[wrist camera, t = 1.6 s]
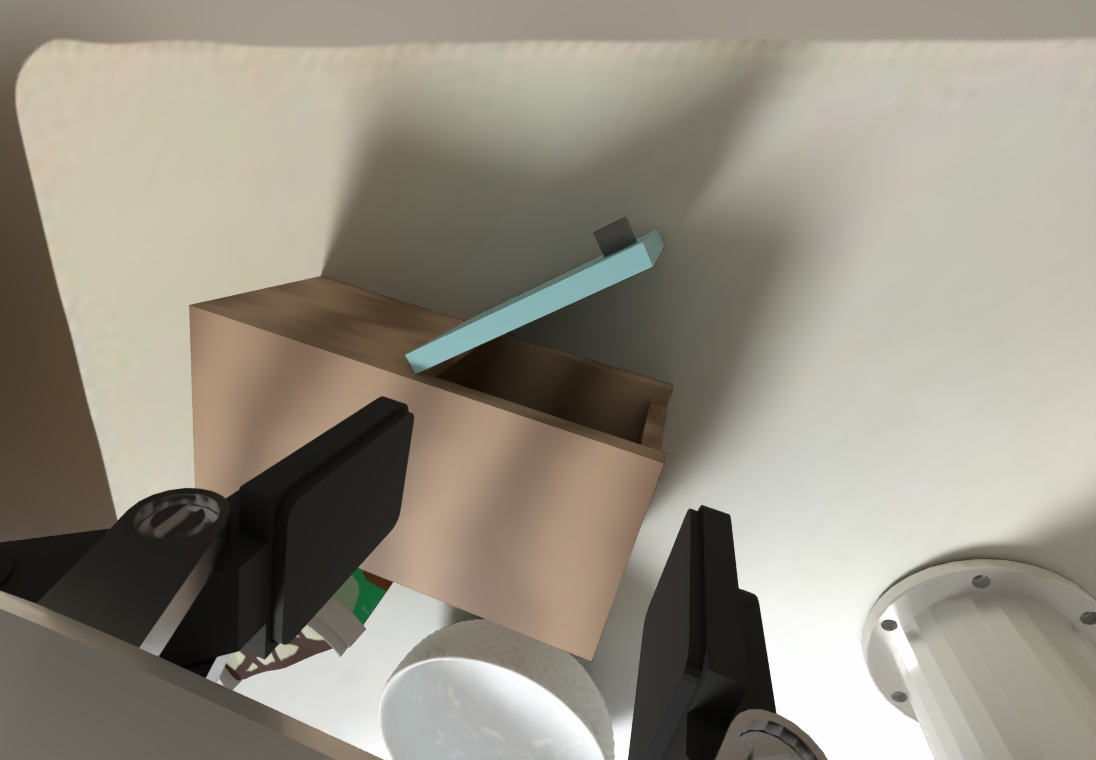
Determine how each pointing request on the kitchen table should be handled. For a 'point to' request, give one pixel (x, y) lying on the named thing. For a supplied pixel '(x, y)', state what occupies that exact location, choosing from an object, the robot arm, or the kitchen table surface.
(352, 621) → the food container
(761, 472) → the kitchen table surface
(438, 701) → the cereal bowl
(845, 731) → the kitchen table surface
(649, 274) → the kitchen table surface
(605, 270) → the door
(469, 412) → the cabinet
